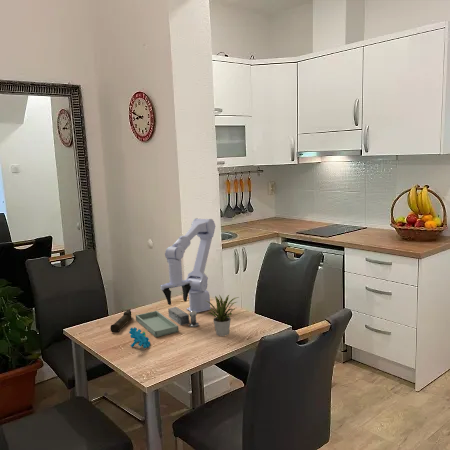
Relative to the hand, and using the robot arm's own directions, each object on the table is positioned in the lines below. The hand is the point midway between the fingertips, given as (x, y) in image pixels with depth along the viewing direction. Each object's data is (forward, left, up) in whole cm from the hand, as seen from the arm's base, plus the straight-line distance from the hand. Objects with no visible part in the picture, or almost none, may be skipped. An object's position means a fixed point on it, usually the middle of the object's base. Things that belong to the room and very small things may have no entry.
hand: (177, 302), depth 204 cm
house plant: (-9, +27, -8) cm, 30 cm away
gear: (+24, +18, -8) cm, 31 cm away
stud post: (-3, +10, -8) cm, 14 cm away
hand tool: (+23, -10, -9) cm, 26 cm away
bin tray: (+11, +1, -8) cm, 14 cm away
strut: (0, 0, -8) cm, 8 cm away
